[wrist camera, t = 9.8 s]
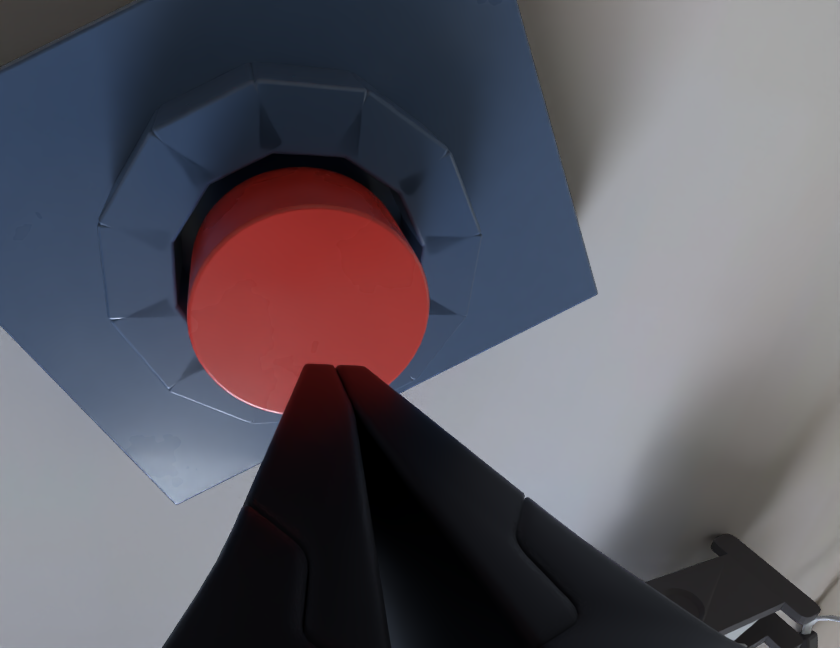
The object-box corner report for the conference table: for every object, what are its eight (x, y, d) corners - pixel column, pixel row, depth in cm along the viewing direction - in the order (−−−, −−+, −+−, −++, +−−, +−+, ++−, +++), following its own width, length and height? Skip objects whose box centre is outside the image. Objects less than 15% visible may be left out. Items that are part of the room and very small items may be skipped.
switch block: (180, 449, 18) (171, 563, 15) (-114, 122, 13) (-234, 188, 9) (561, 259, 18) (637, 330, 15) (437, -149, 13) (512, -180, 9)
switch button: (261, 386, 14) (266, 451, 12) (145, 228, 11) (131, 280, 10) (432, 301, 14) (462, 353, 12) (350, 126, 11) (373, 159, 10)
